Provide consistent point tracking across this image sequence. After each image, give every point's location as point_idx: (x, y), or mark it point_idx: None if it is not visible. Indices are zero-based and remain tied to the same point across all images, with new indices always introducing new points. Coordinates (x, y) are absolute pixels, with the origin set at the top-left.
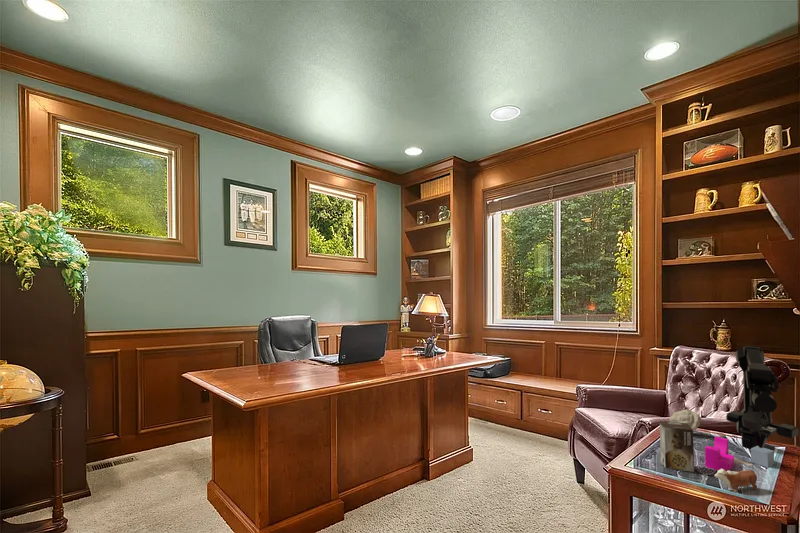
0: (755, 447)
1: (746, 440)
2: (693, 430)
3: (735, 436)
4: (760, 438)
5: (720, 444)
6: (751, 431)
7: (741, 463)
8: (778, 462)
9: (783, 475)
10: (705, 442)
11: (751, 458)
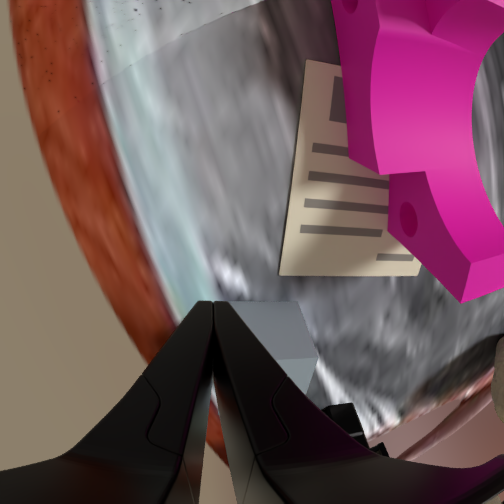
0: (301, 388)
1: (348, 430)
2: (496, 355)
3: (374, 437)
4: (194, 389)
5: (476, 226)
6: (372, 453)
7: (326, 229)
8: (213, 384)
9: (128, 263)
10: (461, 329)
11: (299, 313)
